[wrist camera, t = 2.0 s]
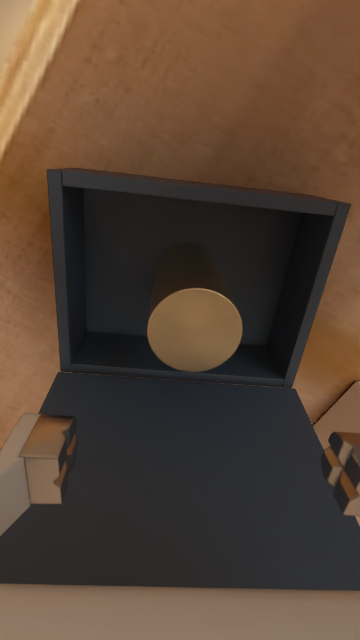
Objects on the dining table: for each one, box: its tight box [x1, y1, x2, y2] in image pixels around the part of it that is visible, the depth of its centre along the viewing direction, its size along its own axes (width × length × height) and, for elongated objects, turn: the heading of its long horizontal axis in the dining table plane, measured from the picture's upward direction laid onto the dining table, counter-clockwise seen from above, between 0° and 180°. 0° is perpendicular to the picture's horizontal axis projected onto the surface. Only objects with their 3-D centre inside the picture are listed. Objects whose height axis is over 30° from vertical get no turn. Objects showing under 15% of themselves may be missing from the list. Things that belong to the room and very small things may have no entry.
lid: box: [0, 372, 360, 591], centre depth 19 cm, size 14×18×5 cm
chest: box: [47, 168, 351, 388], centre depth 24 cm, size 14×18×6 cm
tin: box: [147, 243, 242, 372], centre depth 21 cm, size 5×5×10 cm
